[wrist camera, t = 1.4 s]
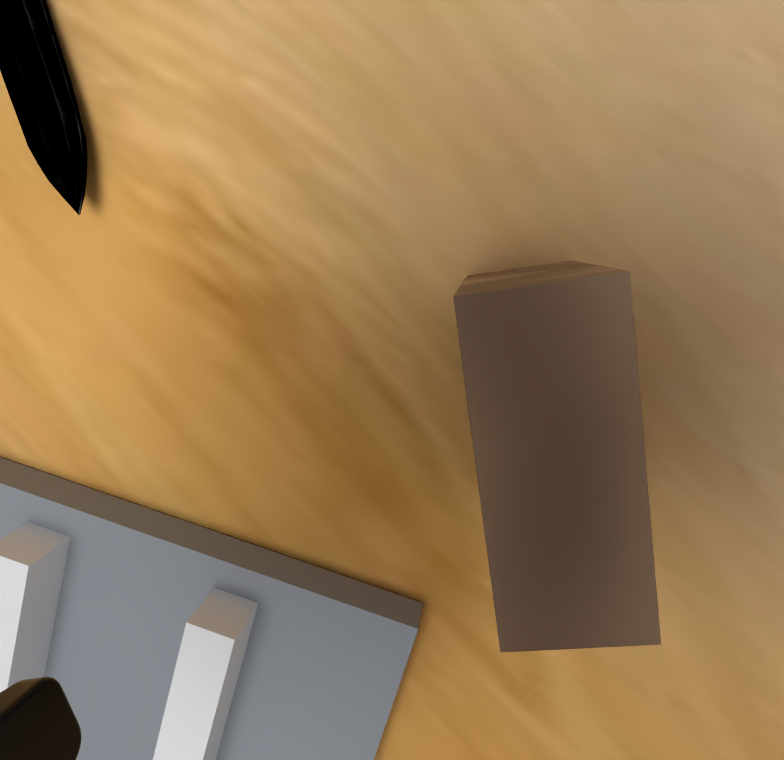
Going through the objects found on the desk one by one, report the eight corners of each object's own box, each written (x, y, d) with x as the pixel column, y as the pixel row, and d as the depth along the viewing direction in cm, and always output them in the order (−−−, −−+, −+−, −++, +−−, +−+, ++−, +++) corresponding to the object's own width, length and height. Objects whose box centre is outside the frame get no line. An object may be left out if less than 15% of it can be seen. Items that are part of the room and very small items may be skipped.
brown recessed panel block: (573, 260, 19) (632, 271, 11) (596, 490, 20) (663, 644, 12) (465, 276, 19) (450, 297, 12) (494, 499, 21) (497, 652, 13)
